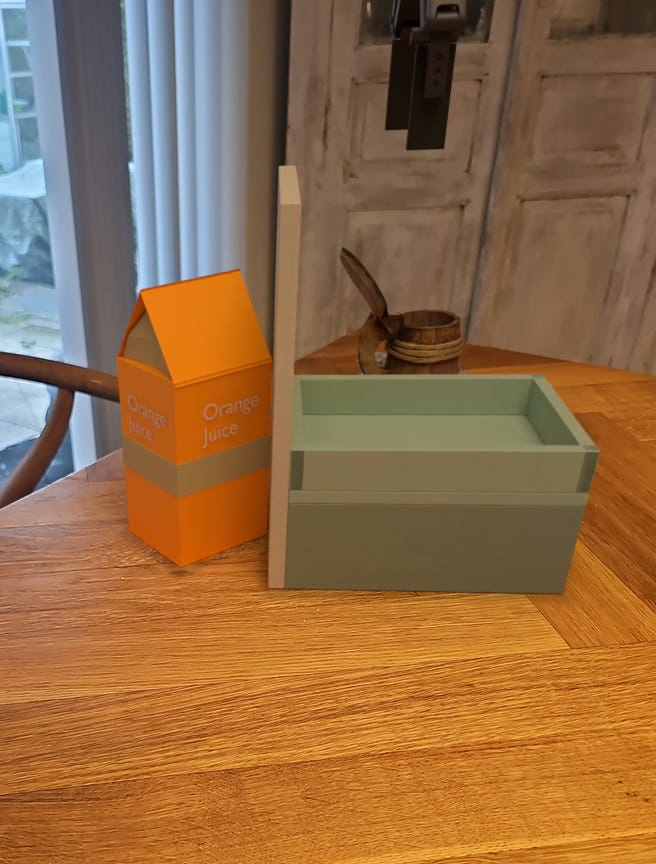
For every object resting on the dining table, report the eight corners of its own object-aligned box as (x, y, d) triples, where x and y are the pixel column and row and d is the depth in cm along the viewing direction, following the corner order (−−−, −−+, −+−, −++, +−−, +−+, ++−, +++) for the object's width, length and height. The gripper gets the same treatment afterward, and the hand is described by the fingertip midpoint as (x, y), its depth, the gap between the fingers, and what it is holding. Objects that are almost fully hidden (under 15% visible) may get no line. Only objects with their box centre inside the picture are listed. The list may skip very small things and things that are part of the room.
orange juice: (268, 534, 72) (276, 277, 60) (180, 568, 68) (171, 301, 56) (211, 500, 77) (208, 258, 66) (127, 530, 73) (108, 279, 62)
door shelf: (516, 500, 75) (588, 158, 60) (563, 594, 63) (668, 195, 48) (268, 497, 77) (278, 165, 62) (268, 588, 65) (280, 203, 50)
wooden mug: (312, 424, 91) (324, 236, 80) (436, 411, 92) (463, 225, 82) (341, 459, 84) (357, 257, 73) (474, 444, 85) (509, 245, 75)
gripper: (371, -186, 69) (351, 124, 82) (418, -268, 49) (382, 161, 61) (469, -193, 69) (434, 121, 81) (557, -278, 48) (492, 157, 61)
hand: (411, 139), depth 71 cm, fingers open, 13 cm apart
